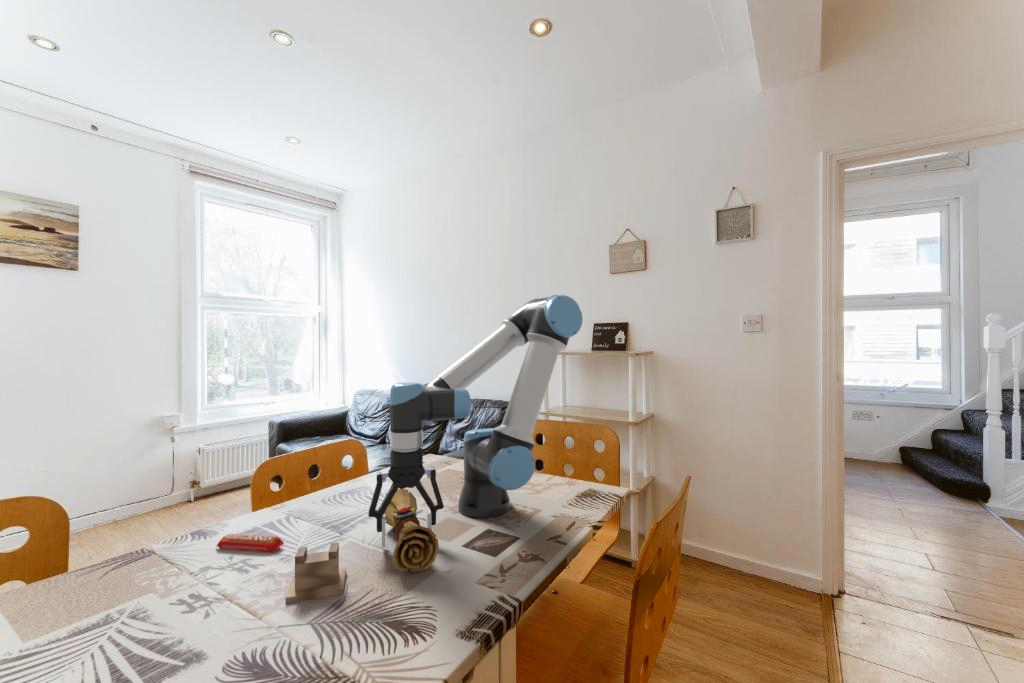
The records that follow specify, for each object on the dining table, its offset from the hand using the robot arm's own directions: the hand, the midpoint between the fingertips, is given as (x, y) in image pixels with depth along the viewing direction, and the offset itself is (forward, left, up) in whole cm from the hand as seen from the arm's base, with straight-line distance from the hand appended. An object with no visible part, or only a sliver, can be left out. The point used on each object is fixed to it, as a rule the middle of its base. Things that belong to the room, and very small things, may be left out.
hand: (406, 541), depth 102 cm
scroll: (0, 0, -1) cm, 1 cm away
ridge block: (+18, +12, -1) cm, 22 cm away
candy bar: (+36, -10, -2) cm, 37 cm away
